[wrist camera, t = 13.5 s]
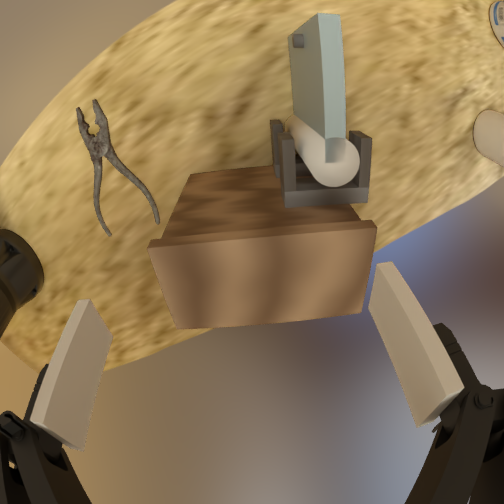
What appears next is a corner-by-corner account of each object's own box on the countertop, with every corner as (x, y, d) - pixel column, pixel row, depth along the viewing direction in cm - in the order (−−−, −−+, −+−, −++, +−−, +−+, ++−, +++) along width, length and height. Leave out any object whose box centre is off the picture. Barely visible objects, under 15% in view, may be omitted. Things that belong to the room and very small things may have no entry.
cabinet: (198, 232, 40) (176, 329, 26) (178, 129, 32) (126, 179, 17) (330, 221, 39) (373, 310, 25) (331, 116, 31) (401, 156, 17)
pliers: (114, 246, 40) (44, 135, 29) (116, 243, 41) (47, 134, 30) (166, 221, 38) (93, 95, 27) (167, 218, 39) (96, 94, 28)
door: (285, 145, 33) (309, 188, 22) (277, 37, 25) (300, 12, 14) (317, 143, 33) (358, 185, 22) (312, 37, 25) (356, 16, 14)
